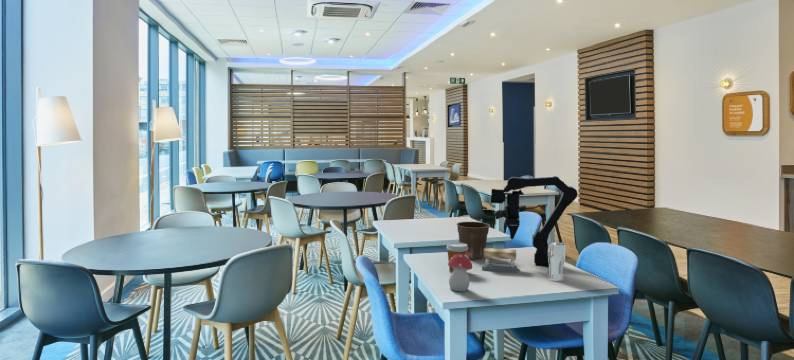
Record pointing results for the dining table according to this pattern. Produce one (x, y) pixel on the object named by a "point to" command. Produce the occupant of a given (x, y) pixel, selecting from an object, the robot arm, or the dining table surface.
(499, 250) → the oak plank
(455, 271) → the decorative ornament
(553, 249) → the beer glass
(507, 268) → the peg stand
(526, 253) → the dining table surface
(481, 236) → the plant pot
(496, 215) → the robot arm
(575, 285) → the dining table surface
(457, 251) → the lidded amber jar
